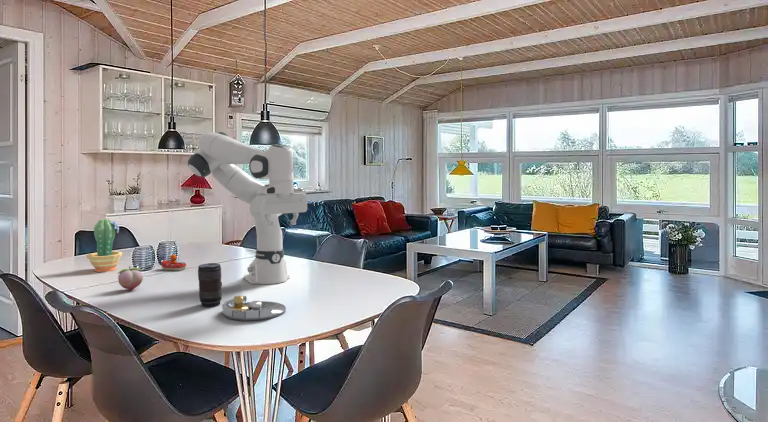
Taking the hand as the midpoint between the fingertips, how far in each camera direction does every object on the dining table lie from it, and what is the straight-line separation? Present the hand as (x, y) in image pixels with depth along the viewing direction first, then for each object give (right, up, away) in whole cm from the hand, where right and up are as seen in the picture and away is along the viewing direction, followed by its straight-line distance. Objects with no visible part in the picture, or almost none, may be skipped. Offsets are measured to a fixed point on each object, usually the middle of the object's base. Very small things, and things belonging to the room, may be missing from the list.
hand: (282, 225), depth 191 cm
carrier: (-7, -30, -11) cm, 33 cm away
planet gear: (-12, -30, -14) cm, 35 cm away
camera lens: (-26, -30, -1) cm, 39 cm away
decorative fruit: (-66, -27, +20) cm, 75 cm away
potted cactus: (-98, -24, +60) cm, 117 cm away
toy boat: (-66, -24, +62) cm, 93 cm away
